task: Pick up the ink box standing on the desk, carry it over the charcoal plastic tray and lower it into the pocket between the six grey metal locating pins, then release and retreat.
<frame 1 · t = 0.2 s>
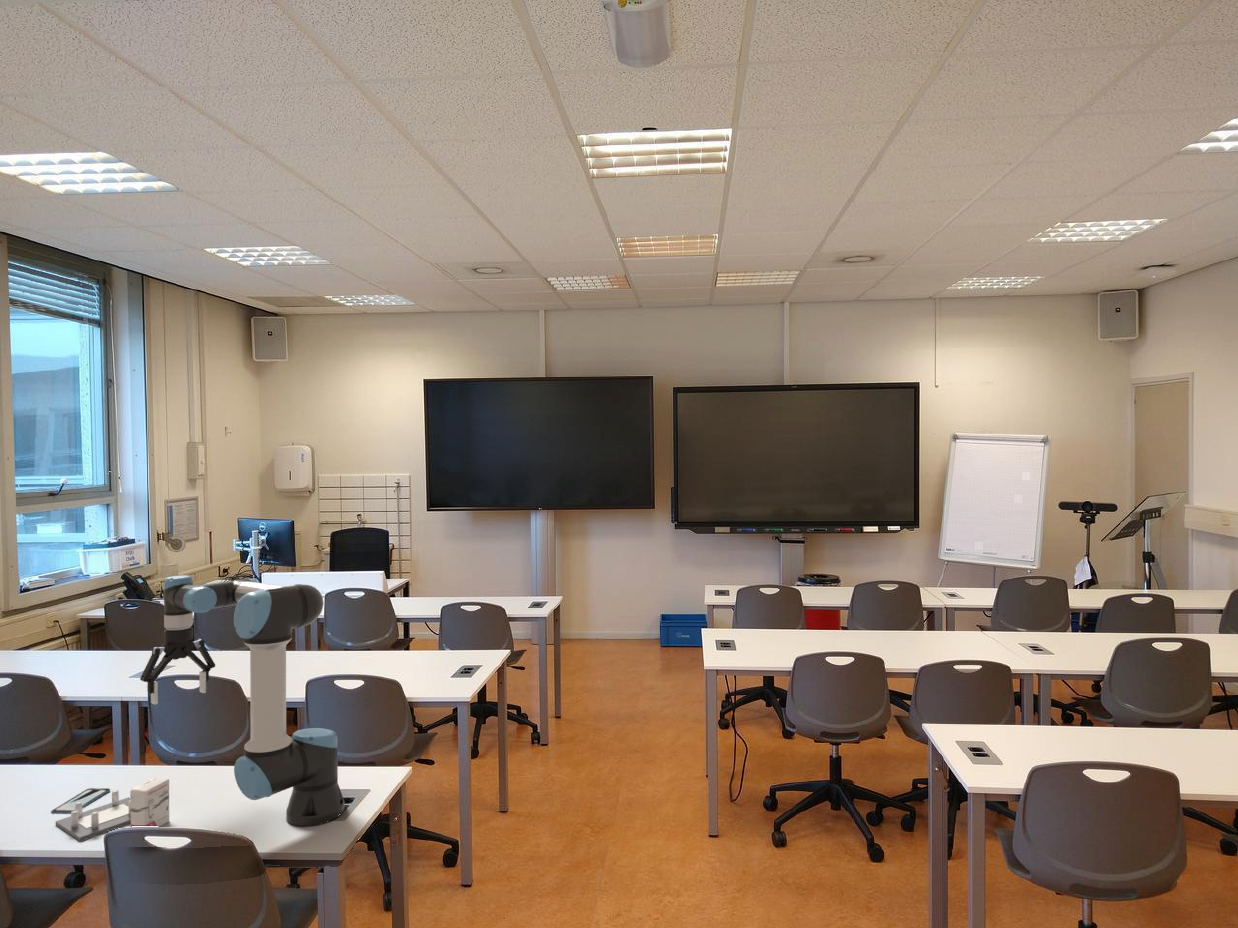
hand: (179, 697, 229), 28 cm above the table, fingers open, 13 cm apart
ink box: (150, 828, 205), on the table
pin tray: (105, 819, 210), on the table
smartphone: (81, 803, 221), on the table
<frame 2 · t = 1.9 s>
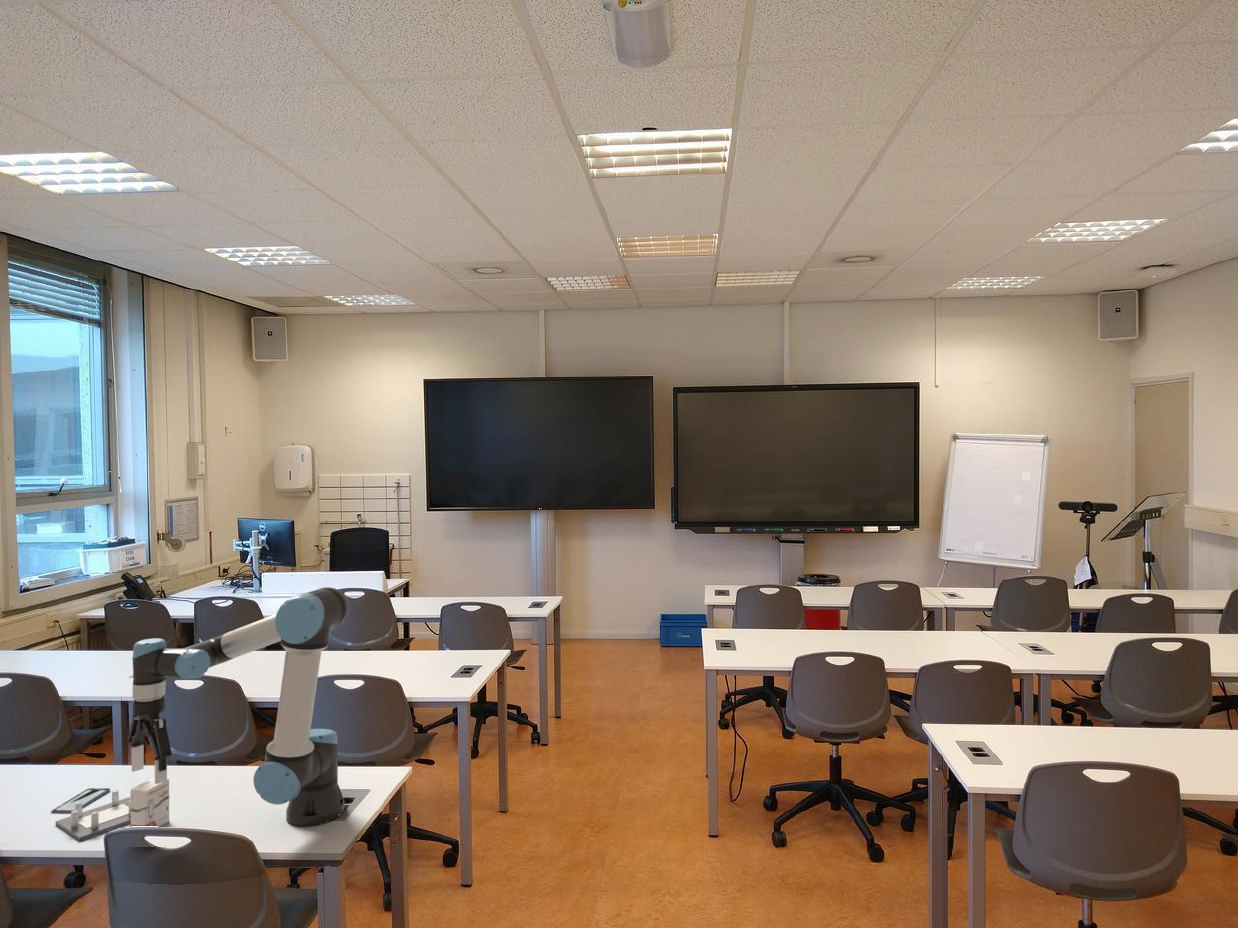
hand: (148, 776, 205), 14 cm above the table, fingers open, 13 cm apart
nothing on the table moved.
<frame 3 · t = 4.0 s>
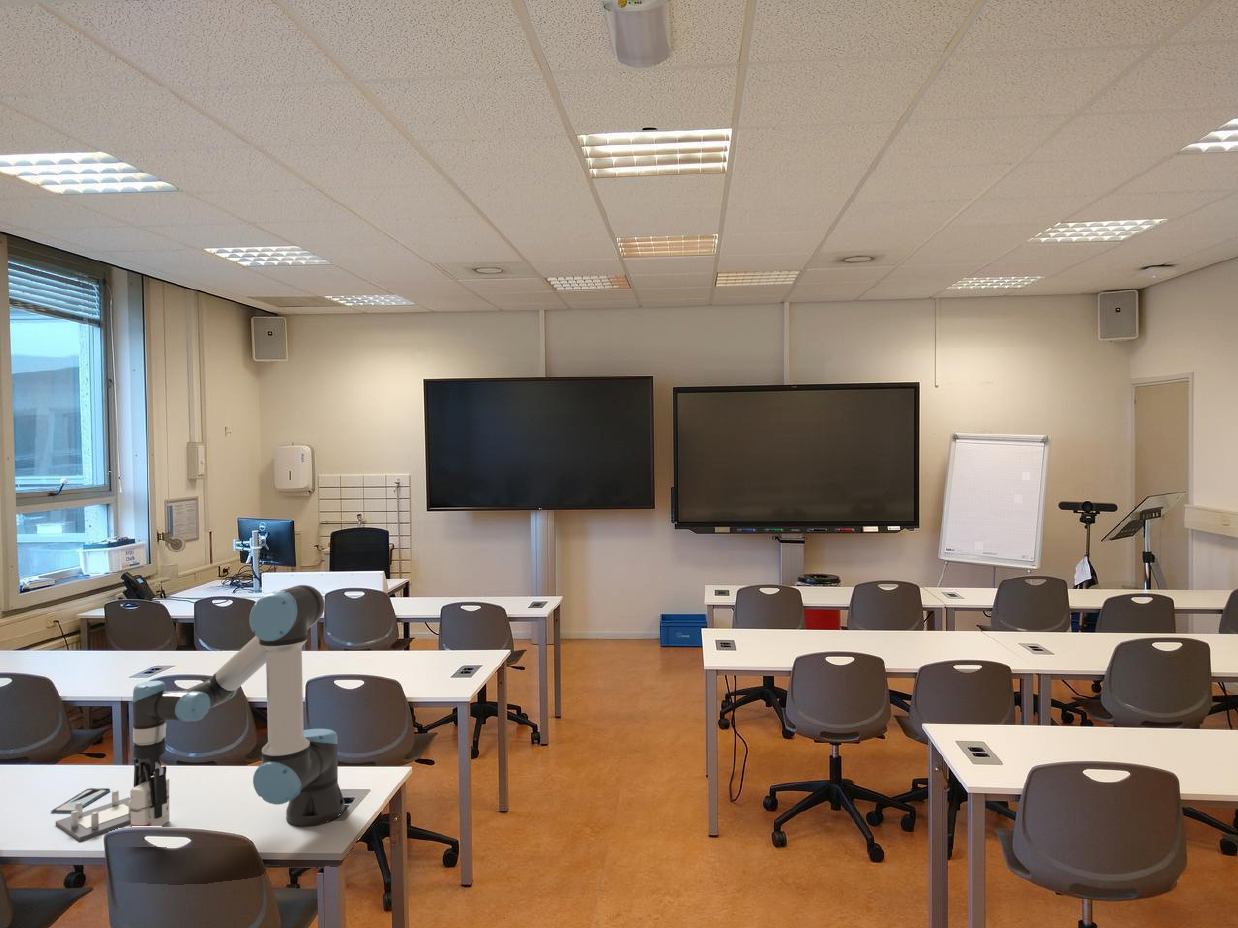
hand: (150, 825, 205), 1 cm above the table, fingers closed on ink box, 7 cm apart
ink box: (150, 828, 205), on the table, touching gripper
everything else where it was.
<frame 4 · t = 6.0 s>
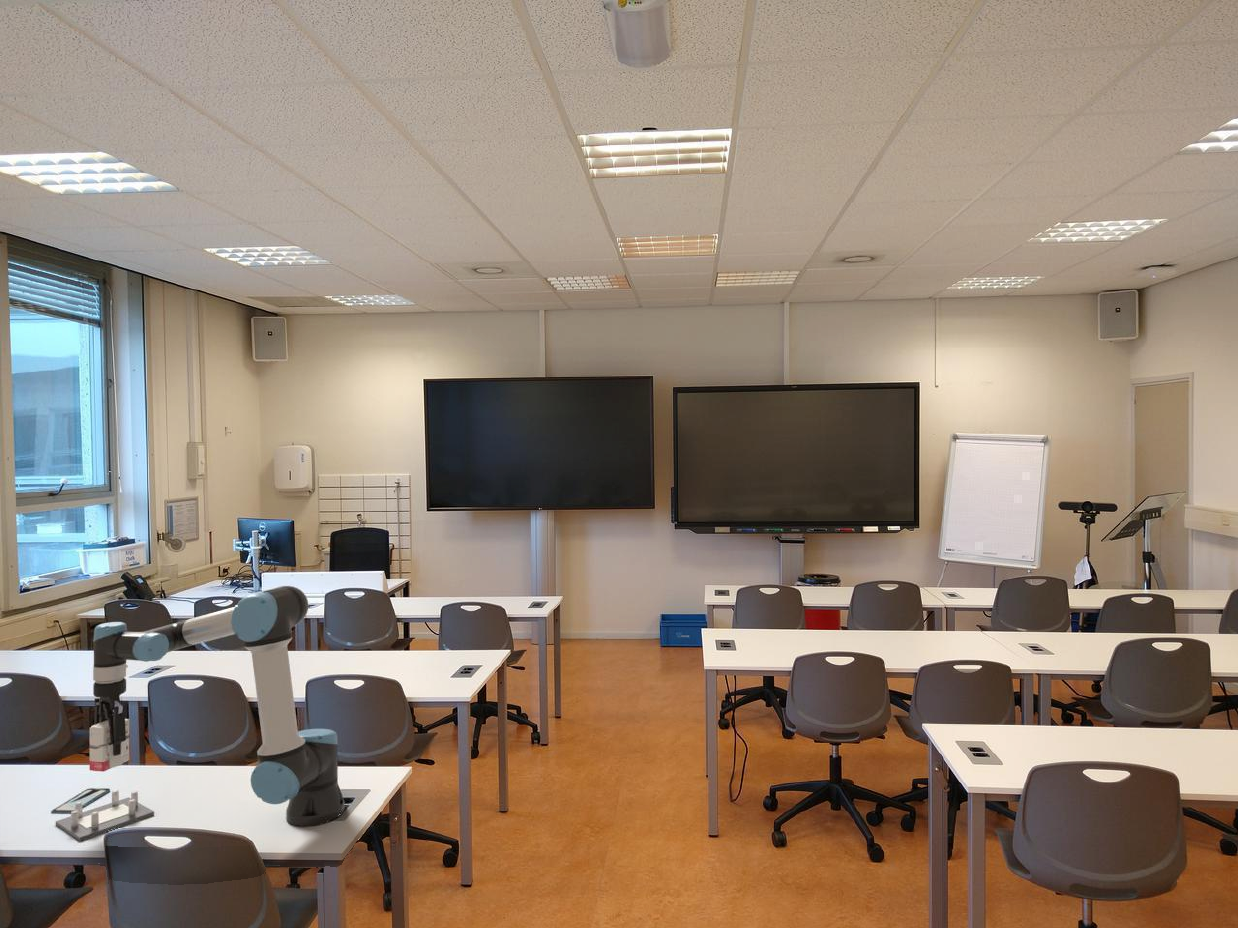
hand: (109, 763, 209), 16 cm above the table, fingers closed on ink box, 6 cm apart
ink box: (109, 766, 209), point 15 cm above the table, touching gripper
everything else where it was.
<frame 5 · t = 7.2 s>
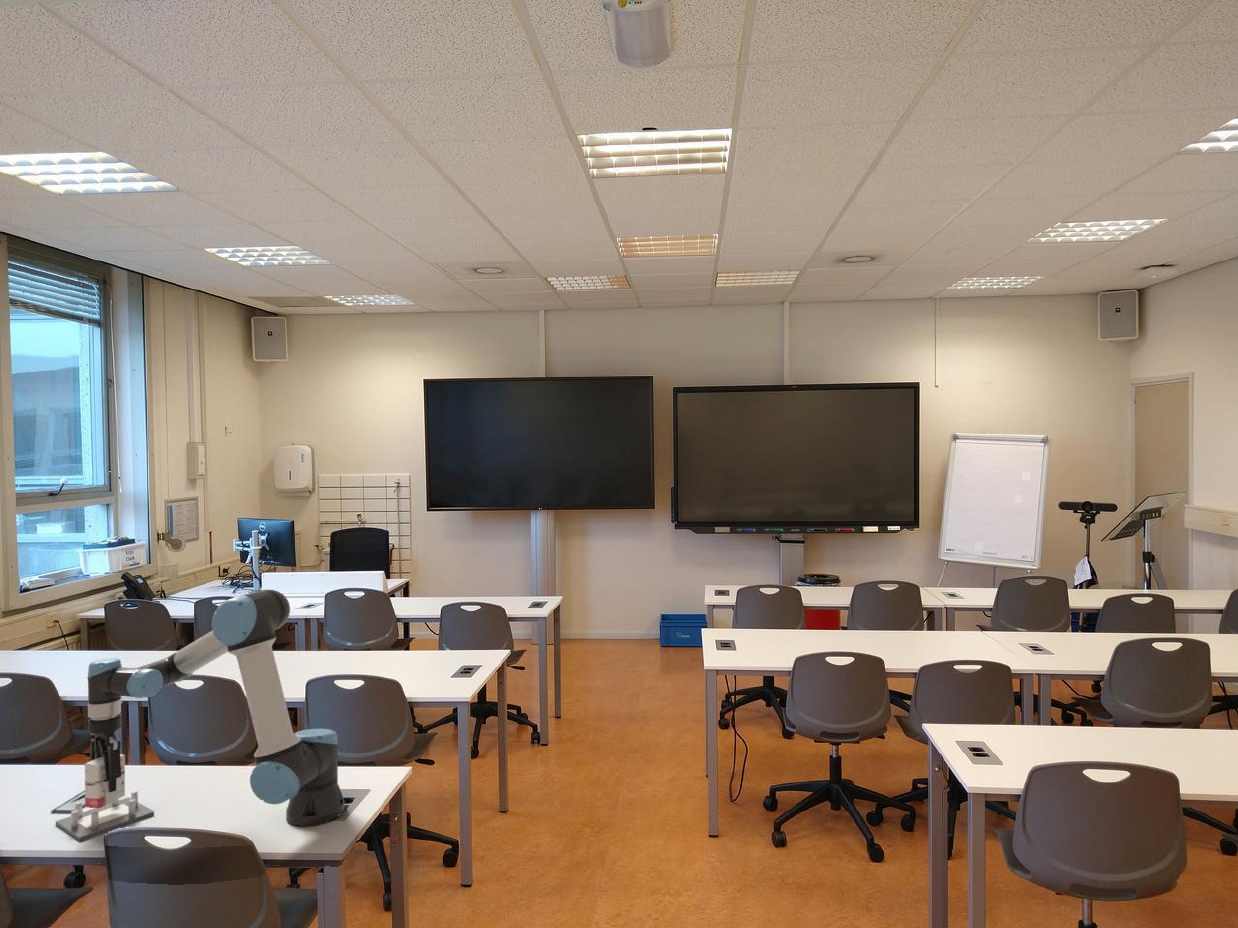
hand: (105, 799, 210), 6 cm above the table, fingers closed on ink box, 6 cm apart
ink box: (105, 802, 209), point 5 cm above the table, touching gripper
everything else where it was.
when the fingers open (3 cm above the table, at t = 8.0 s): ink box drops 1 cm, resting on pin tray.
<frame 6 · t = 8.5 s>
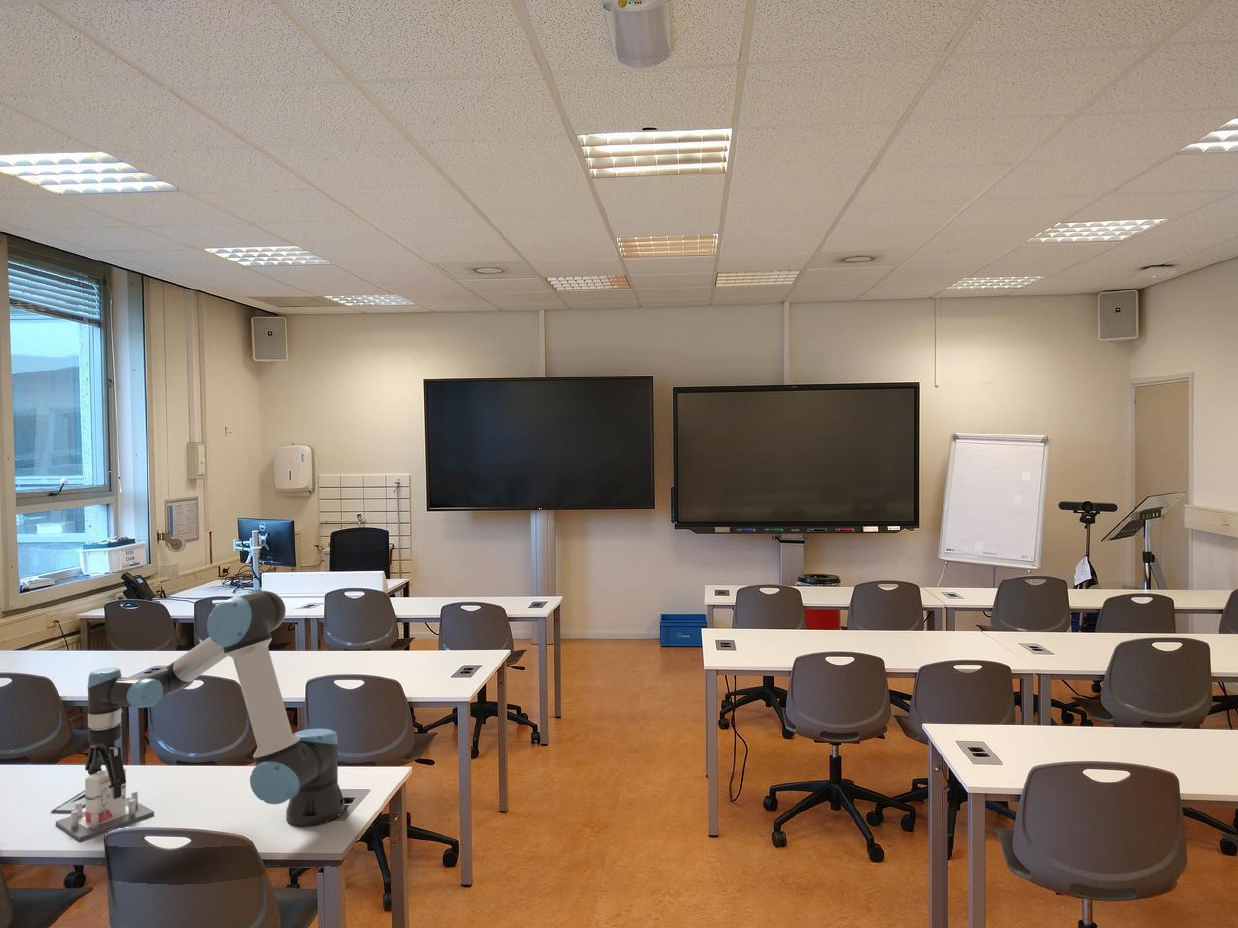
hand: (105, 803, 210), 5 cm above the table, fingers open, 13 cm apart
ink box: (105, 816, 209), point 1 cm above the table, touching pin tray
everything else where it was.
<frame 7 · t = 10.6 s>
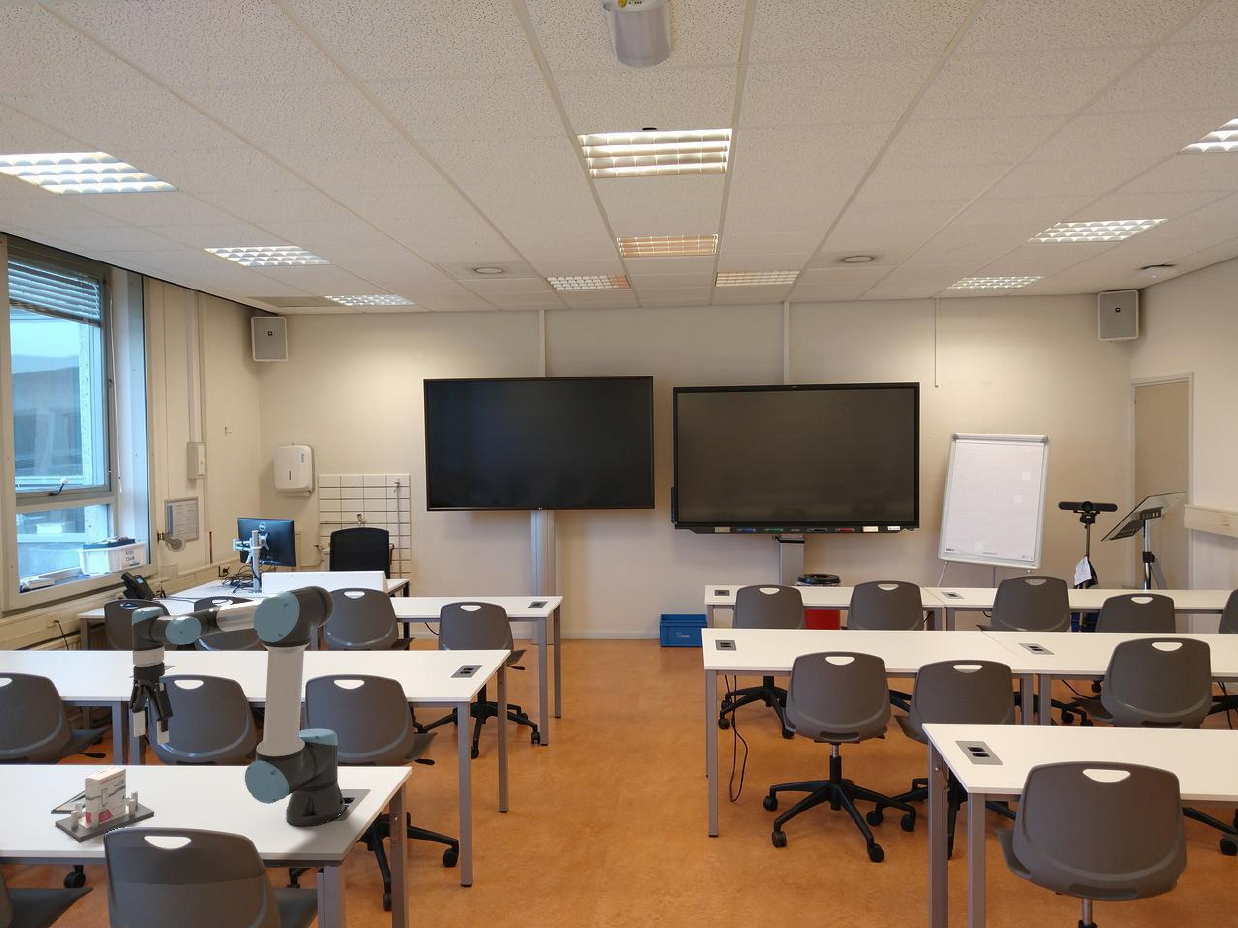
hand: (151, 739, 213), 21 cm above the table, fingers open, 13 cm apart
nothing on the table moved.
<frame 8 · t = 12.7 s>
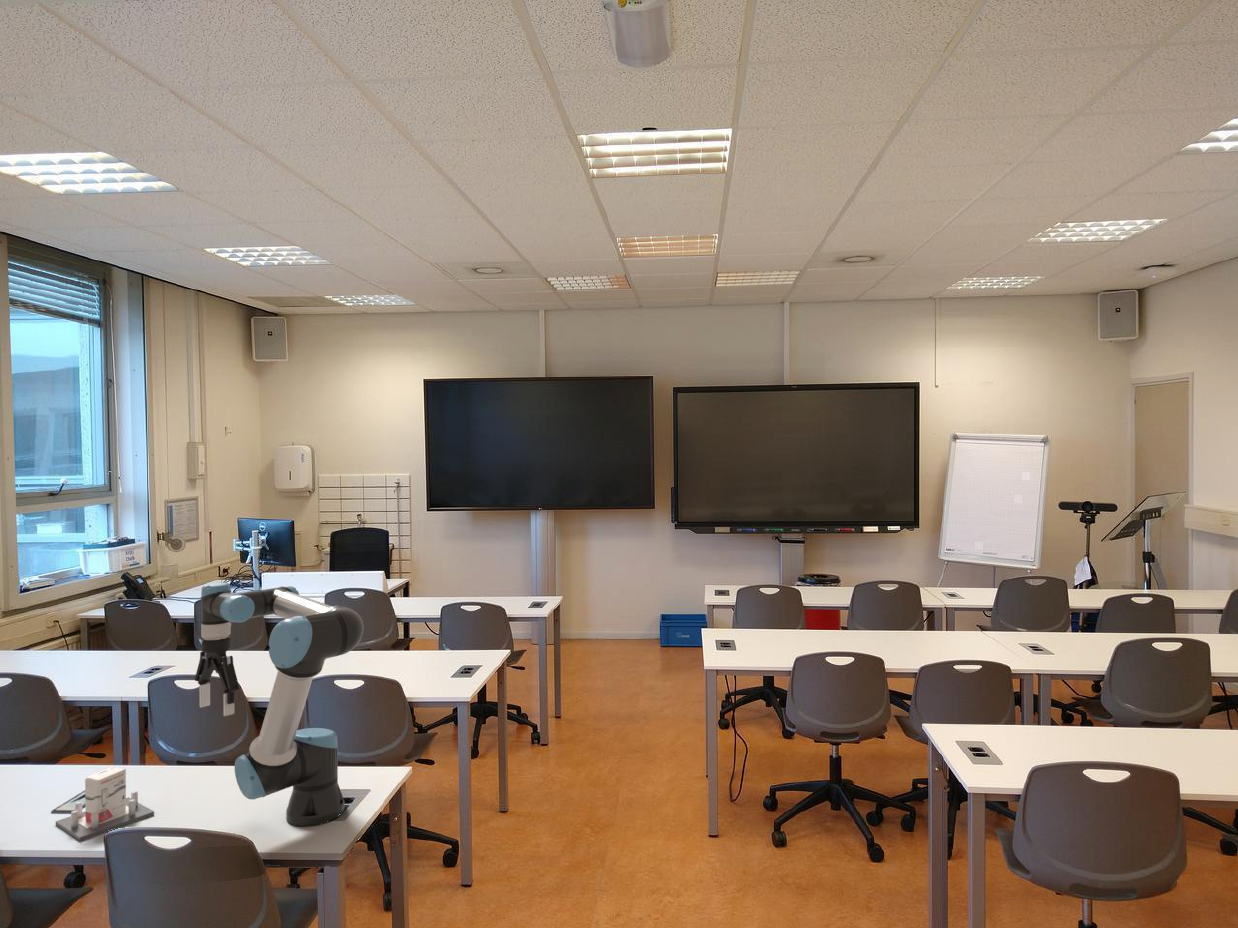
hand: (216, 710, 220), 27 cm above the table, fingers open, 13 cm apart
nothing on the table moved.
at the end: ink box 0.2 cm off-centre on the pin tray, point 1.0 cm above the pin tray's base; ink box tilted 0°; the gripper is holding nothing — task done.
